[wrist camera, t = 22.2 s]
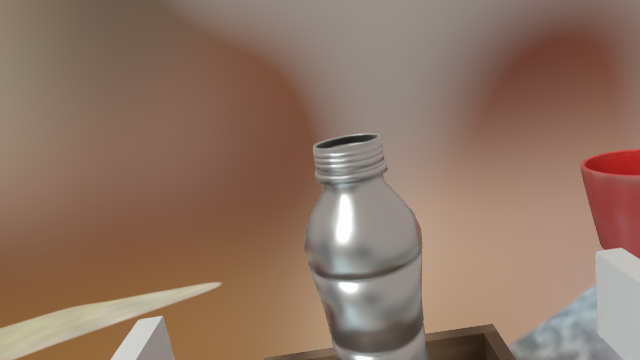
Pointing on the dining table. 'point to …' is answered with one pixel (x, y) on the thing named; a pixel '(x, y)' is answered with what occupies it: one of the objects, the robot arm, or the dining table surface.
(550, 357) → the dining table surface
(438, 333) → the walnut tray
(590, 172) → the flower pot
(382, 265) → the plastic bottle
